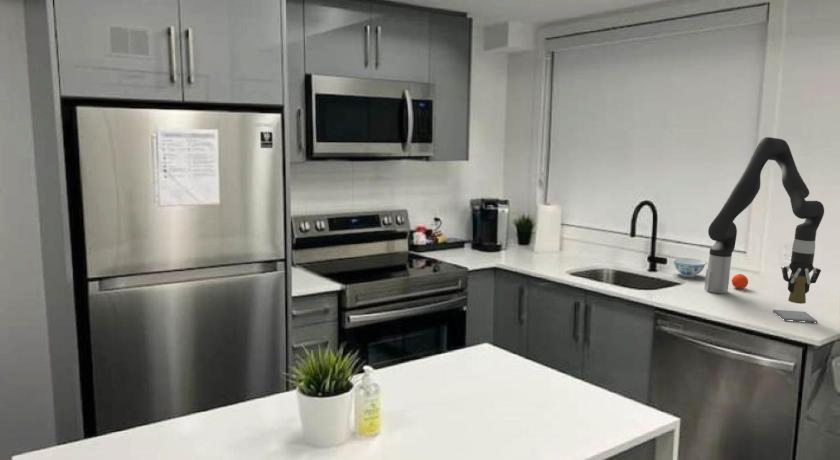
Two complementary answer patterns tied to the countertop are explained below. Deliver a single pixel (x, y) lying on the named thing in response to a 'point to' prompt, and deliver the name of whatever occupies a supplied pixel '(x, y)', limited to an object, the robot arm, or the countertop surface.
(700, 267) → the chinaware
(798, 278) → the cork
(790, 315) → the trivet
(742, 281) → the clementine
